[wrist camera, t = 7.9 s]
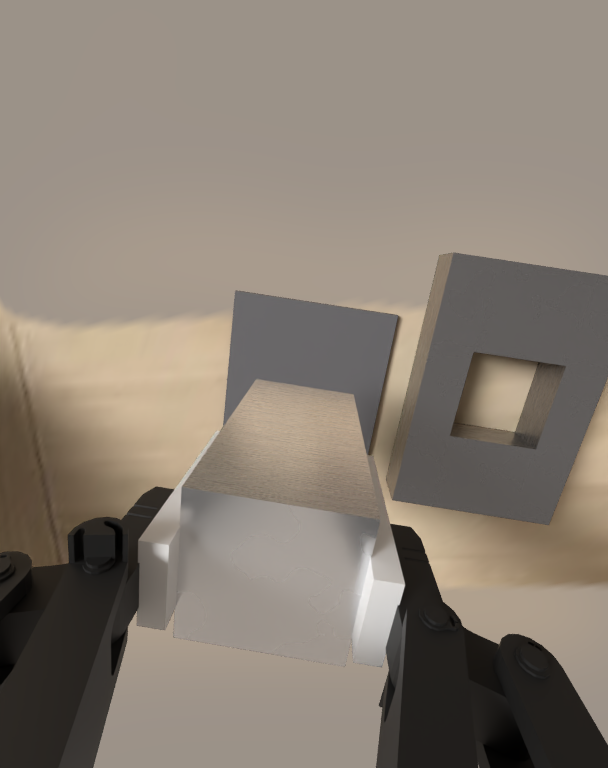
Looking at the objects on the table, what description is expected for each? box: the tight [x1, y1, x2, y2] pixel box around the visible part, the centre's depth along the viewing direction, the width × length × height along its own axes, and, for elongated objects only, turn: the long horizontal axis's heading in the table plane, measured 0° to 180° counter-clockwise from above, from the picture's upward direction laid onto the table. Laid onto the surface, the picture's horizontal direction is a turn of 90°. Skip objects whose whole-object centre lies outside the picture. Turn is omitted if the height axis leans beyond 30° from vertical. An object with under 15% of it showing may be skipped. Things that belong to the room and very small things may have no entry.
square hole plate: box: [386, 253, 608, 525], centre depth 27 cm, size 12×18×3 cm, turn 172°
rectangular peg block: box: [173, 379, 381, 667], centre depth 15 cm, size 5×5×10 cm
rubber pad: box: [223, 291, 398, 455], centre depth 29 cm, size 12×12×1 cm
